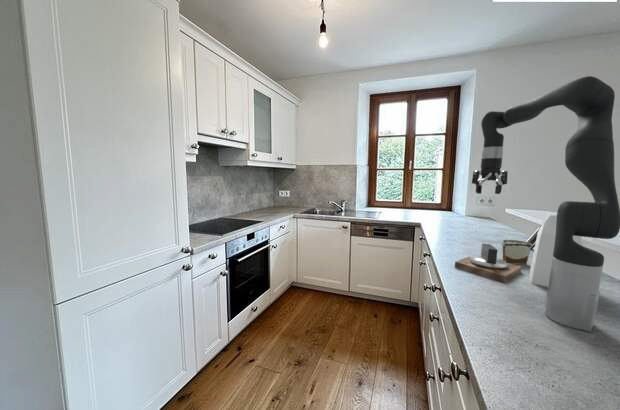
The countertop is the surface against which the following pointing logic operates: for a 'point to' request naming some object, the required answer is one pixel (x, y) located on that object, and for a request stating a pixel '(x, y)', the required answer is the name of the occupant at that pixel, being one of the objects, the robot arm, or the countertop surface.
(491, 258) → the dial
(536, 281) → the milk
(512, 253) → the food container
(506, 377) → the countertop surface
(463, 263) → the wooden board
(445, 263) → the countertop surface
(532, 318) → the countertop surface
